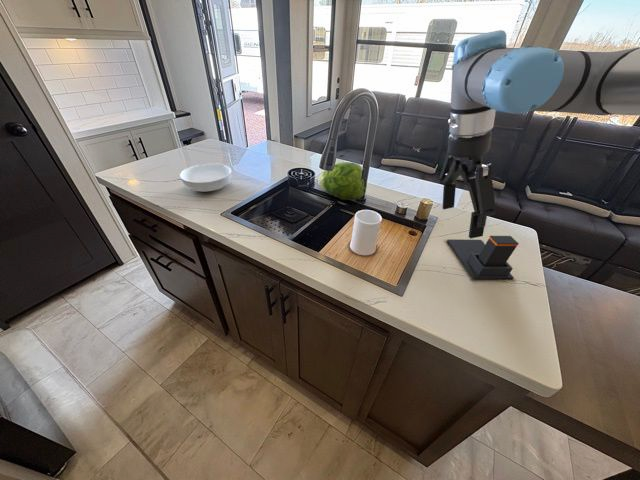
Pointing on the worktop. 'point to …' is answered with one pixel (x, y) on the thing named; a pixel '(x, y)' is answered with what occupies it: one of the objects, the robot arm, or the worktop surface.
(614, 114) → the robot arm
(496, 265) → the black orange-striped block
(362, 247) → the mug
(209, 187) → the serving bowl
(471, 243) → the base pad
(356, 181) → the lettuce
